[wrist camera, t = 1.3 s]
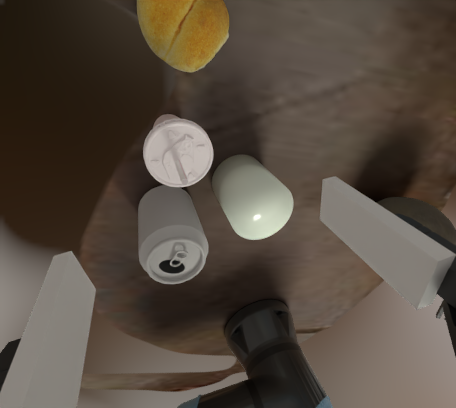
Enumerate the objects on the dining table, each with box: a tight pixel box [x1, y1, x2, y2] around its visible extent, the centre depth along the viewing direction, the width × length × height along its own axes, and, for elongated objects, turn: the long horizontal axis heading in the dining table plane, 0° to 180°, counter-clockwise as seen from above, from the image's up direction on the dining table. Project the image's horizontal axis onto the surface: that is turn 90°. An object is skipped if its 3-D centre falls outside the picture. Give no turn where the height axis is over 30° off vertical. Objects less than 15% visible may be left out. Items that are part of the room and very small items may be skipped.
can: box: [138, 185, 208, 284], centre depth 32 cm, size 8×8×12 cm
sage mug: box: [212, 155, 293, 240], centre depth 35 cm, size 10×8×9 cm
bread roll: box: [137, 0, 229, 72], centre depth 25 cm, size 8×9×4 cm
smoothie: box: [143, 114, 213, 187], centre depth 26 cm, size 6×6×14 cm
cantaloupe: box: [376, 197, 456, 245], centre depth 44 cm, size 14×14×15 cm
